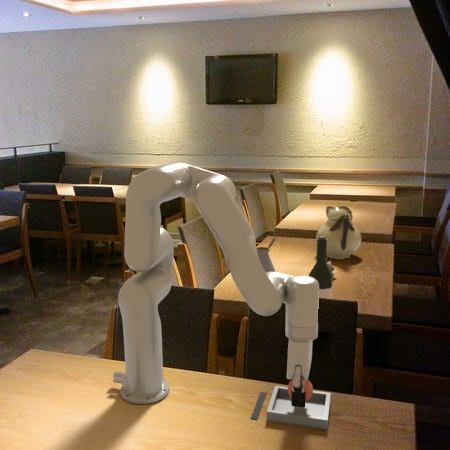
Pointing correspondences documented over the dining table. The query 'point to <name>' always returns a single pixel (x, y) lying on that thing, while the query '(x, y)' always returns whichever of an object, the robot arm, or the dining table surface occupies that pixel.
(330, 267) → the architectural model
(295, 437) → the dining table surface
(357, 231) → the white drawstring sack
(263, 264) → the coffee pot
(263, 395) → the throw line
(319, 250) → the wine bottle
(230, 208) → the robot arm
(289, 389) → the ball
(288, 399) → the tray
